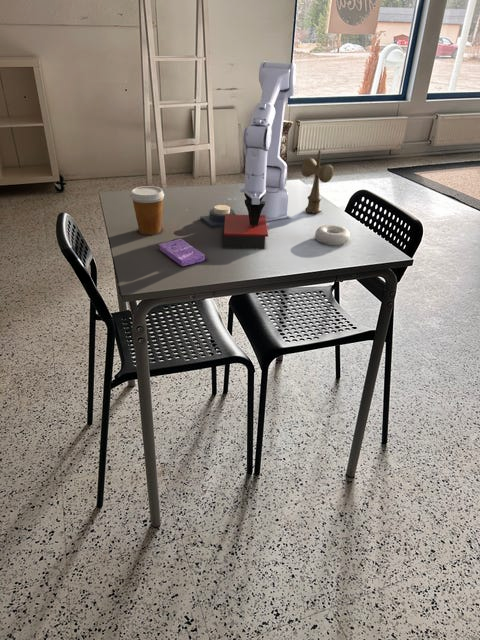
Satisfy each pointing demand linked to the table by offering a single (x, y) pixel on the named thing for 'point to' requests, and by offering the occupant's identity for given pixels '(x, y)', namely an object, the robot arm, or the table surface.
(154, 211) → the disposable coffee cup
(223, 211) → the power button
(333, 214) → the table surface
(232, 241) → the black shallow box
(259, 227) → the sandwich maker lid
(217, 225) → the switch block
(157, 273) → the table surface
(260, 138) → the robot arm
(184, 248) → the sponge
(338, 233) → the donut
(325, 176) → the kendama
